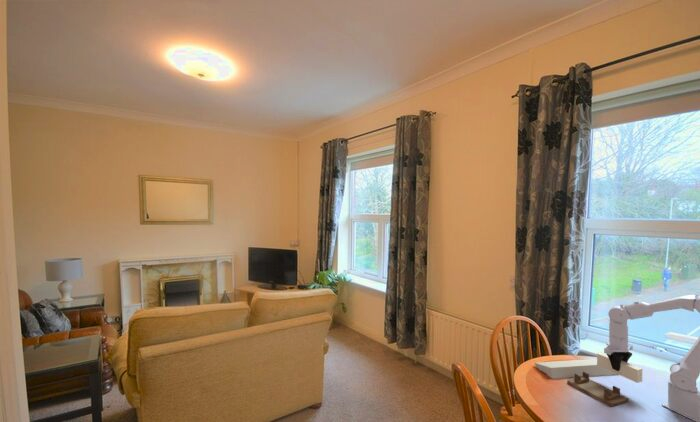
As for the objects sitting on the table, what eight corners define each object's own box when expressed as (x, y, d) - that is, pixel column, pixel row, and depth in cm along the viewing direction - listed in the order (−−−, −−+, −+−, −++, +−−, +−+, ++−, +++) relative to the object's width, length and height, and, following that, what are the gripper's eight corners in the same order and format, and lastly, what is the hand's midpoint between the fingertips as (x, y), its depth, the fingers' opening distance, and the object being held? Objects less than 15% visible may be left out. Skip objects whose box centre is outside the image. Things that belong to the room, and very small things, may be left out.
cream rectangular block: (642, 381, 114) (642, 368, 114) (637, 382, 113) (637, 370, 113) (601, 363, 127) (601, 352, 128) (597, 364, 127) (597, 353, 127)
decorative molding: (536, 374, 137) (553, 380, 127) (534, 362, 138) (551, 367, 128) (601, 369, 141) (622, 375, 131) (599, 358, 142) (619, 363, 132)
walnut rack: (628, 401, 112) (628, 389, 112) (611, 407, 109) (611, 395, 109) (583, 378, 128) (583, 368, 128) (567, 383, 124) (567, 372, 124)
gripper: (618, 330, 127) (618, 361, 126) (595, 334, 122) (595, 367, 122) (638, 336, 120) (638, 369, 120) (615, 341, 115) (615, 376, 115)
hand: (618, 369), depth 120 cm, fingers closed on cream rectangular block, 3 cm apart
